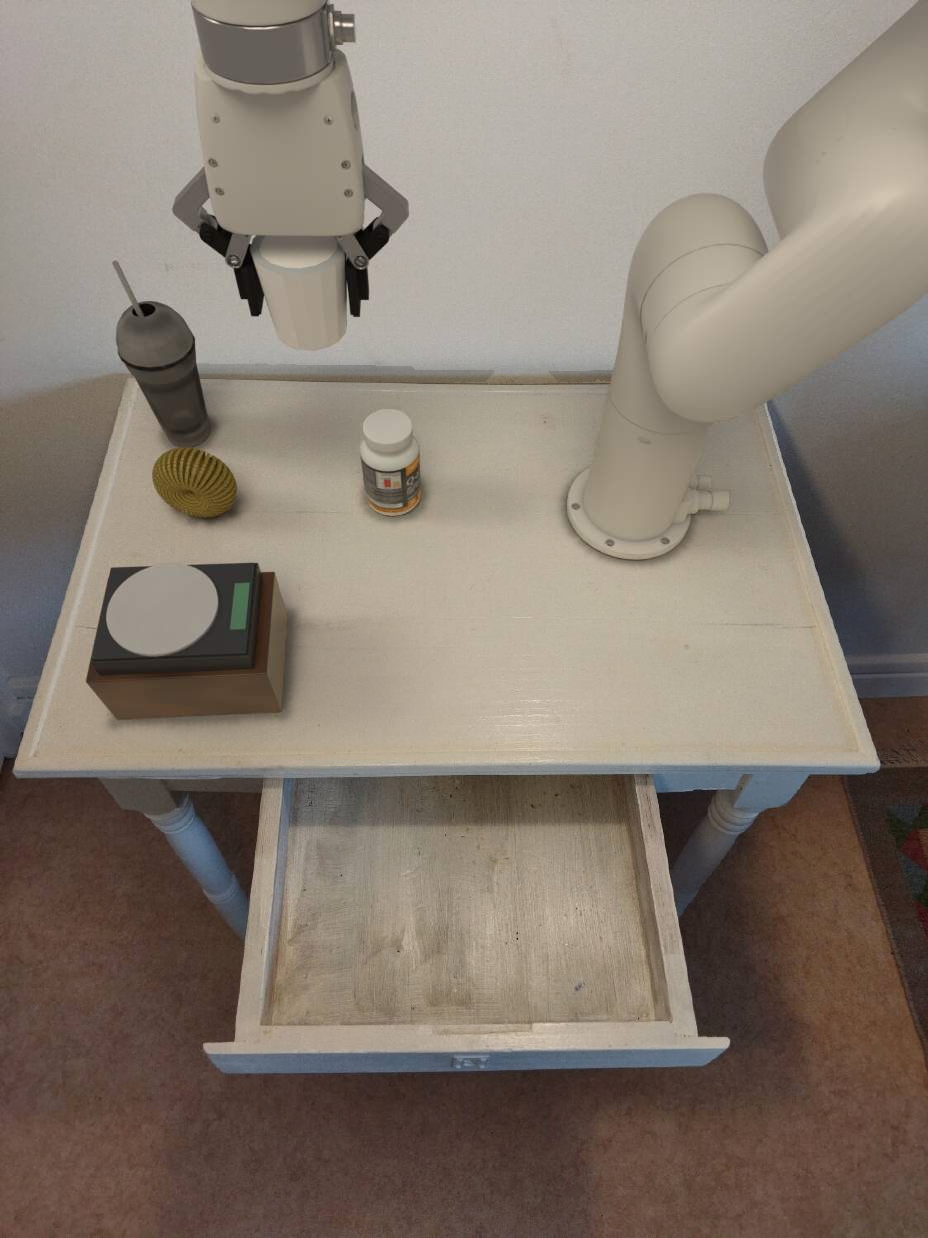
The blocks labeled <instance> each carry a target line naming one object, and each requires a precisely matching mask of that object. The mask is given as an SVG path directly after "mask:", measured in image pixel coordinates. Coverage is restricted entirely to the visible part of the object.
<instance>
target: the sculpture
mask: <svg viewBox="0 0 928 1238" xmlns="http://www.w3.org/2000/svg"><path fill="white" fill-rule="evenodd" d="M151 472H152V473H151V479H152V484H153V486H154V490H156V492H157V495H158V496H159V497H160V498H161V499H162V500H163V501H164V503H166V504H167V505H169V506H170V507H171V508H173V509H174V510H176V511H178V512H180V513H182V514H185V515H187V516H190V517H193V518H195V517H196V518H203V519H205V518H214V517H218V516H220V515H223V514H225V513H226V512H227V511H229V509H231V507H232V506H233V505H234V503H235V501H236V499H237V495H238V486H237V485H238V484H237V480H236V478H235V475H234V473H233V472H232V471H231V469H230V468H229V466H227V464H226V463H225V462H223V461H222V459H220V458H217V456H216V455H213V454H211V453H210V452H206V450H203V449H199V448H194V447H189V448H188V447H176V448H175V447H174V448H171V449H169V450H167V451H165V452H163V453H162V454H161V455H160V456H159V457H158V458H157V460H156V461H155V462H154V463H153V468H152V471H151Z"/></svg>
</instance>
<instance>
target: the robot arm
mask: <svg viewBox="0 0 928 1238" xmlns="http://www.w3.org/2000/svg"><path fill="white" fill-rule="evenodd" d="M190 7H191V11H192V15H193V19H194V24H195V29H196V34H197V38H198V42H199V47H200V50H199V51H197V53H196V54H195V55H194V56H195V57H194V65H193V68H194V70H193V71H194V74H193V75H194V92H195V95H194V96H195V106H196V115H197V116H196V117H197V126H198V132H199V138H200V146H201V154H202V160H203V167H202V168H201V169H200V170H199V171H198V172H197V173H196V174H195V175H194V176H193V177H192V179H190V180H189V182H188V183H187V184H185V186H184V187H183V188H182V189H181V190H180V191H179V192H178V194H176V196H175V198H174V201H173V205H172V208H171V211H172V214H173V215H174V216H175V217H176V218H177V219H178V220H180V221H181V222H182V223H183V225H185V226H187V227H188V229H190V230H191V231H192V232H195V233H196V234H198V236H199V238H200V240H201V241H202V242H203V243H204V244H206V245H207V246H208V247H210V248H211V249H212V250H214V251H215V252H216V253H218V254H219V255H220V256H222V257H223V258H224V262H225V263H226V265H227V266H228V267H230V268H232V269H233V272H234V277H235V282H236V286H237V289H238V294H239V299H240V300H247V304H248V308H249V313H250V316H251V317H260V315H262V314H263V313H262V312H263V307H264V306H263V305H264V300H265V296H264V293H263V290H262V287H261V283H260V280H259V277H258V274H257V271H256V268H255V264H254V261H253V258H252V255H251V252H250V247H251V244H252V243H250V242H251V239H252V236H256V235H261V236H335V238H336V239H337V241H338V242H339V244H340V245H341V247H342V248H343V250H344V252H345V253H346V255H347V264H346V277H347V298H348V305H349V315H350V316H352V317H353V318H361V308H362V307H361V306H362V305H361V304H362V301H369V300H370V282H369V270H368V269H369V268H368V267H369V265H370V261H371V260H372V259H373V258H374V257H375V256H376V255H377V254H378V253H379V252H380V251H381V250H382V249H383V248H384V247H385V246H386V245H387V244H388V243H389V241H390V238H391V237H392V236H393V235H394V234H396V232H397V231H398V230H399V229H400V228H401V227H402V226H403V225H404V223H405V222H406V221H407V220H408V219H409V216H410V202H409V200H408V199H407V198H406V197H405V196H403V195H402V194H401V193H400V192H399V191H397V190H396V189H395V187H393V186H392V185H390V184H389V183H388V182H387V180H385V179H383V178H382V177H381V176H380V175H379V174H377V173H376V172H375V171H374V170H372V169H371V168H370V167H369V166H368V165H367V164H366V163H365V152H364V144H363V136H362V128H361V122H360V114H359V110H358V109H359V108H358V102H357V97H356V93H355V88H354V82H353V78H352V75H351V69H350V66H349V63H348V59H347V56H346V54H345V53H344V52H343V51H342V50H341V49H339V48H338V46H344V43H350V44H351V43H355V44H356V43H357V27H356V26H357V25H356V15H355V13H343V11H342V10H336V9H335V3H331V2H330V0H190ZM763 159H764V160H763V165H762V182H763V190H764V194H765V197H766V201H767V204H768V207H769V210H770V213H771V216H772V219H773V223H774V225H775V228H776V231H777V234H778V237H779V240H780V242H778V243H777V244H776V245H775V246H774V247H772V248H771V249H770V250H769V248H768V244H767V242H766V240H765V238H764V235H763V233H762V231H761V229H760V227H759V225H758V224H757V222H756V220H755V219H754V217H753V216H752V215H751V213H750V212H749V211H748V210H747V209H746V208H745V207H744V206H743V205H741V203H739V202H738V201H736V200H734V199H732V198H730V197H728V196H725V195H722V194H718V193H710V192H708V193H707V192H706V193H705V192H704V193H701V192H700V193H695V194H689V195H687V196H684V197H681V198H679V199H677V200H675V201H673V202H672V203H670V204H669V205H667V206H665V207H664V208H663V209H662V210H660V212H658V213H657V214H656V215H655V217H653V219H652V220H651V221H650V222H649V223H648V225H646V227H645V229H644V231H643V232H642V234H641V236H640V237H639V240H638V242H637V244H636V246H635V248H634V250H633V253H632V256H631V261H630V265H629V268H628V269H629V270H628V274H627V280H626V287H625V295H624V296H625V297H624V303H623V310H622V311H623V312H622V318H621V319H622V320H621V327H620V333H619V339H618V346H617V350H616V355H615V360H614V365H613V368H612V373H611V377H610V381H609V386H608V390H607V394H606V398H605V402H604V403H605V404H604V406H603V411H602V415H601V420H600V422H599V423H600V424H599V428H598V432H597V437H596V440H595V445H594V450H593V454H592V458H591V462H590V466H589V467H587V468H585V469H584V470H582V472H580V473H579V474H578V475H577V476H576V478H575V479H573V481H572V482H571V485H570V487H569V490H568V494H567V500H566V506H565V507H566V515H567V517H568V520H569V523H570V525H571V527H572V529H573V530H574V532H575V533H576V534H577V535H578V536H579V538H581V539H582V540H583V542H585V543H586V544H587V545H589V546H590V547H591V548H593V549H595V550H597V551H598V552H600V553H603V554H605V555H608V556H611V557H613V558H619V559H623V560H635V561H636V560H637V561H639V560H647V559H653V558H657V557H660V556H663V555H666V554H667V553H668V552H670V551H672V550H673V549H674V548H676V547H677V546H678V545H679V544H680V543H681V542H682V541H683V539H684V538H685V536H686V534H687V531H688V529H689V527H690V523H691V520H692V514H693V515H694V514H697V513H698V511H699V510H704V511H705V510H707V511H727V510H728V509H729V508H730V504H731V496H730V492H729V491H728V490H708V491H698V489H699V490H701V489H703V490H704V489H710V488H711V487H712V477H711V474H697V475H693V474H694V472H695V470H696V468H697V465H698V462H699V461H700V460H699V459H700V457H701V455H702V452H703V449H704V447H705V444H706V442H707V439H708V437H709V434H710V432H711V429H712V427H713V424H714V422H718V421H719V422H720V421H724V420H725V421H726V420H729V419H733V418H736V417H738V416H742V415H745V414H747V413H749V412H751V411H753V410H755V409H757V408H759V407H760V406H762V405H764V404H766V403H768V402H769V401H771V400H773V399H774V398H777V397H778V396H779V395H781V394H783V393H784V392H786V391H788V390H789V389H790V388H792V387H793V386H796V385H797V384H798V383H800V382H801V381H803V380H804V379H806V378H807V377H809V376H810V375H812V374H814V373H815V372H816V371H818V370H820V369H821V368H823V367H824V366H825V365H827V364H829V363H830V362H832V361H833V360H835V359H836V358H838V357H839V356H841V355H842V354H844V353H845V352H847V351H849V350H850V349H852V348H853V347H855V346H856V345H857V344H859V343H861V342H862V341H864V340H865V339H867V338H868V337H870V336H871V335H873V334H874V333H876V332H877V331H879V330H881V329H882V328H884V327H885V326H887V325H888V324H889V323H891V322H892V321H894V320H895V319H896V318H898V317H899V316H900V315H902V314H904V313H905V312H907V311H908V310H909V309H911V308H912V307H913V306H915V304H916V303H918V302H919V301H920V300H921V299H922V298H923V297H925V295H926V294H927V293H928V0H917V1H916V2H915V3H914V4H913V5H912V6H911V7H910V8H909V9H908V10H907V11H906V12H905V13H903V14H902V15H901V17H899V18H898V19H897V20H896V21H895V22H893V23H892V24H891V25H890V26H889V27H888V28H887V29H886V30H885V31H884V32H883V33H881V34H880V35H879V36H878V37H877V38H876V39H875V40H873V42H871V43H870V44H869V45H868V46H867V47H865V48H864V50H862V51H861V52H860V53H859V54H858V55H857V56H856V57H855V58H853V59H852V61H850V62H849V63H848V64H847V65H846V66H845V67H843V68H842V69H841V70H840V71H839V72H838V73H836V75H835V76H833V78H831V79H830V80H829V81H828V82H827V83H826V84H825V85H824V86H823V87H821V88H820V89H819V90H818V91H817V92H816V93H815V94H813V95H812V96H811V97H810V98H809V99H808V100H807V101H806V102H805V103H803V105H801V106H800V107H799V108H798V109H797V110H796V111H795V112H794V113H793V114H792V115H791V116H790V117H789V118H788V119H787V120H786V121H785V122H784V124H783V125H782V126H781V127H780V129H778V131H777V132H776V133H775V135H774V137H773V138H772V140H771V141H770V143H769V144H768V147H767V150H766V153H765V155H764V158H763ZM209 199H210V204H211V207H212V212H213V214H214V215H213V214H210V213H208V211H207V209H206V208H204V207H203V205H205V203H206V202H207V201H208V200H209ZM366 200H368V201H369V202H370V203H372V204H373V205H374V206H375V207H377V208H378V209H379V210H380V211H381V212H380V214H379V215H378V216H376V217H374V219H373V220H371V222H370V223H369V224H368V225H367V226H366V227H364V224H365V223H364V222H365V210H366V204H365V203H366Z"/></svg>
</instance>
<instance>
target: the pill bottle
mask: <svg viewBox="0 0 928 1238" xmlns="http://www.w3.org/2000/svg"><path fill="white" fill-rule="evenodd" d="M362 437H363V438H362V441H361V442H360V445H359V446H360V447H359V456H360V457H359V458H360V463H361V471H362V481H363V487H364V494H365V495H364V496H365V498H366V503H367V504H368V506H370V508H371V509H372V510H373V511H375V512H376V513H378V514H380V515H383V516H390V517H396V516H401V515H405V514H407V513H409V512H411V511H412V510H414V508H415V507H416V506H417V505H418V504H419V502H420V499H421V495H422V493H421V491H422V487H421V486H422V485H421V455H420V444H419V441H418V439H417V437H416V435H415V434H414V425H413V422H412V419H411V418H410V417H409V416H408V414H406V413H405V412H403V411H401V410H398V409H394V408H382V409H378V410H375V411H373V412H372V413H370V414H369V415H368V416H366V418H365V419H364V421H363V423H362Z"/></svg>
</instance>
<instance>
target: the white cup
mask: <svg viewBox="0 0 928 1238" xmlns="http://www.w3.org/2000/svg"><path fill="white" fill-rule="evenodd" d="M250 244H251V247H250V252H251V255H252V258H253V261H254V264H255V268H256V271H257V274H258V277H259V280H260V283H261V287H262V290H263V293H264V300H265V302H266V305H267V308H268V312H269V315H270V318H271V322H272V324H273V327H274V330H275V333H276V335H277V338H278V340H279V341H280V342H281V343H283V345H285V346H286V347H289V348H291V349H294V350H297V351H309V352H315V351H320V350H324V349H328V348H330V347H332V346H333V345H335V344H337V343H339V342H340V341H341V340H342V338H343V337H344V336H345V335H346V334H347V328H348V287H347V277H346V264H347V255H346V253H345V252H344V250H343V248H342V247H341V245H340V244H339V242H338V241H337V239H336V238H335V236H261V235H254V237H252V241H251V243H250Z"/></svg>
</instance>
